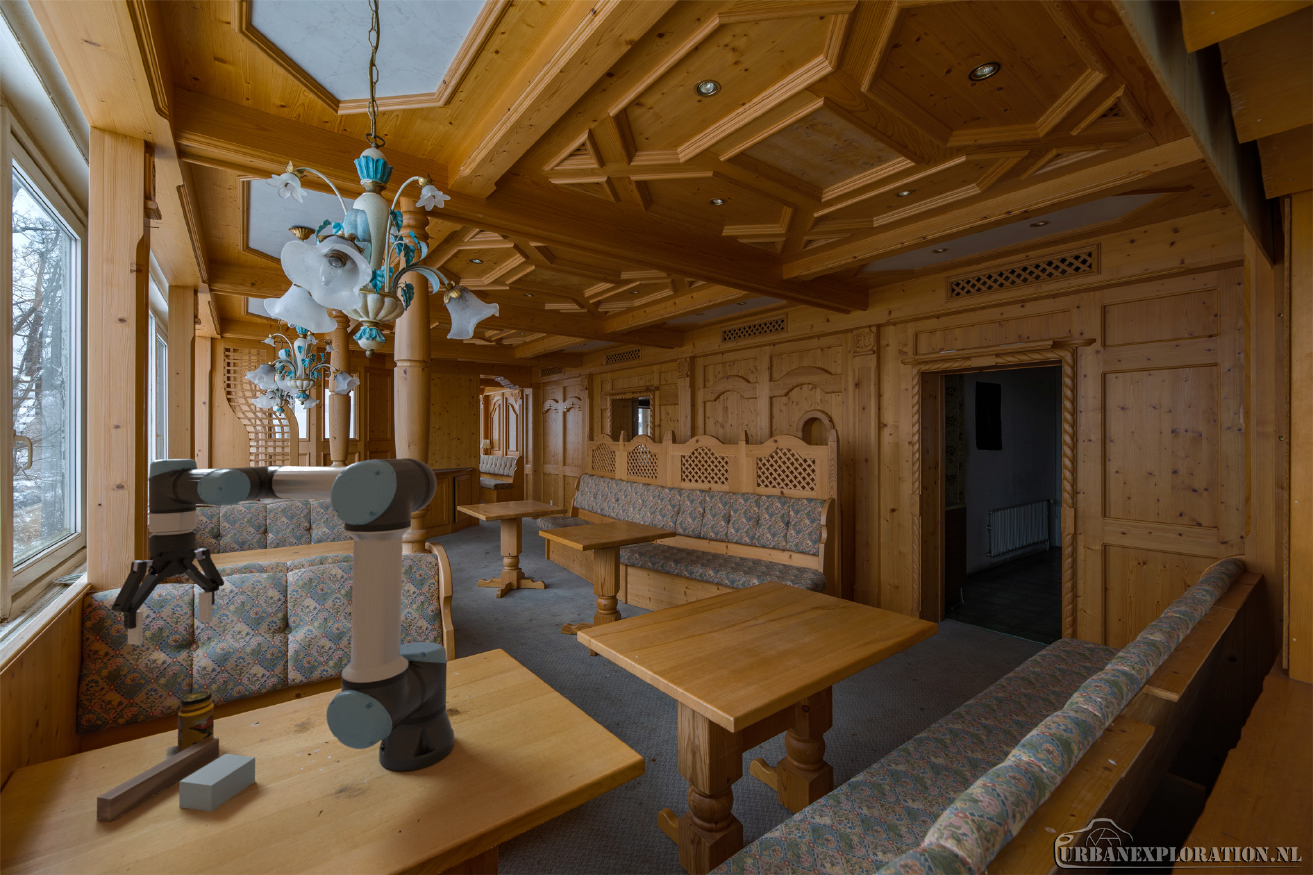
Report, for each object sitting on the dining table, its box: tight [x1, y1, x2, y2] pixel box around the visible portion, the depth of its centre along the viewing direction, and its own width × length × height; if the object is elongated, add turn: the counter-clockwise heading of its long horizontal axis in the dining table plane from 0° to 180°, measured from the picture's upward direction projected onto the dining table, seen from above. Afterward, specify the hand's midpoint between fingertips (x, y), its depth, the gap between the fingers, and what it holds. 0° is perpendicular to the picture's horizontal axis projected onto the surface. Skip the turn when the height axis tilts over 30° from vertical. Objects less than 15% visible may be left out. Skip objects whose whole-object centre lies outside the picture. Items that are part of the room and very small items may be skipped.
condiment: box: [162, 690, 218, 762], centre depth 119 cm, size 7×8×12 cm
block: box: [178, 753, 256, 813], centre depth 105 cm, size 7×9×5 cm
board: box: [96, 737, 220, 823], centre depth 107 cm, size 3×20×4 cm, turn 170°
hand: (172, 631), depth 115 cm, fingers open, 13 cm apart
